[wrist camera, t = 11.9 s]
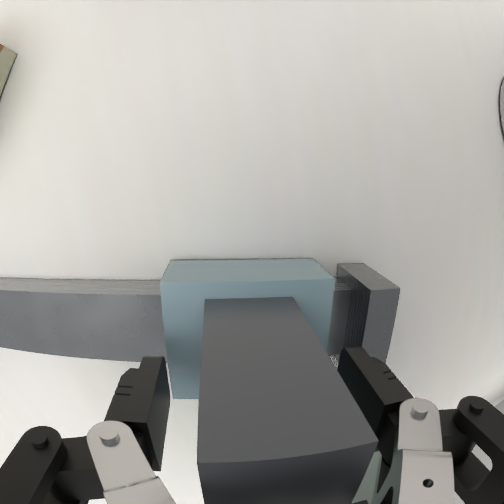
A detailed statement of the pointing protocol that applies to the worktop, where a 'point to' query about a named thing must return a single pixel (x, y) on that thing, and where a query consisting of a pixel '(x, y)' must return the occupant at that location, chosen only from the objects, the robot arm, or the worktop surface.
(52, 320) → the rail
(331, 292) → the carriage
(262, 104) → the worktop surface
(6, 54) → the skincare box
